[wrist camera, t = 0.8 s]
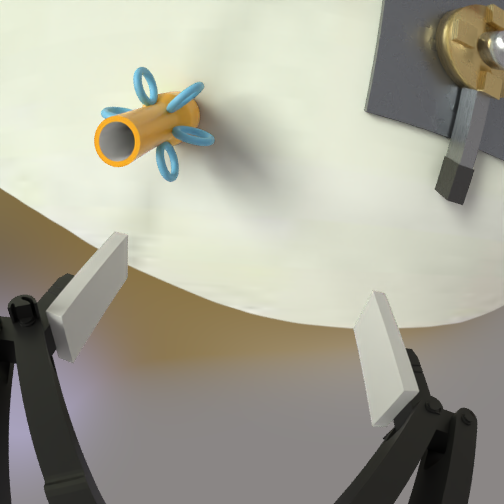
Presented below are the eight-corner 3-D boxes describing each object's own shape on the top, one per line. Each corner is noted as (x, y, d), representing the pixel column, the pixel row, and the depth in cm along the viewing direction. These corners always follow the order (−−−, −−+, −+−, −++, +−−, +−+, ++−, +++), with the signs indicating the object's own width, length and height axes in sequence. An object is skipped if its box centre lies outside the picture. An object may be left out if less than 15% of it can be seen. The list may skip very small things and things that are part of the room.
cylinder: (240, 88, 33) (213, 94, 20) (211, 171, 38) (174, 225, 25) (141, 62, 31) (67, 62, 18) (121, 142, 37) (49, 181, 24)
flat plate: (388, -63, 20) (415, -93, 12) (541, 20, 20) (584, 20, 12) (364, 110, 32) (390, 122, 24) (518, 167, 32) (559, 192, 24)
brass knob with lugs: (439, -6, 22) (461, -14, 18) (509, 32, 22) (534, 31, 18) (404, 180, 35) (421, 196, 30) (473, 200, 35) (493, 218, 30)
